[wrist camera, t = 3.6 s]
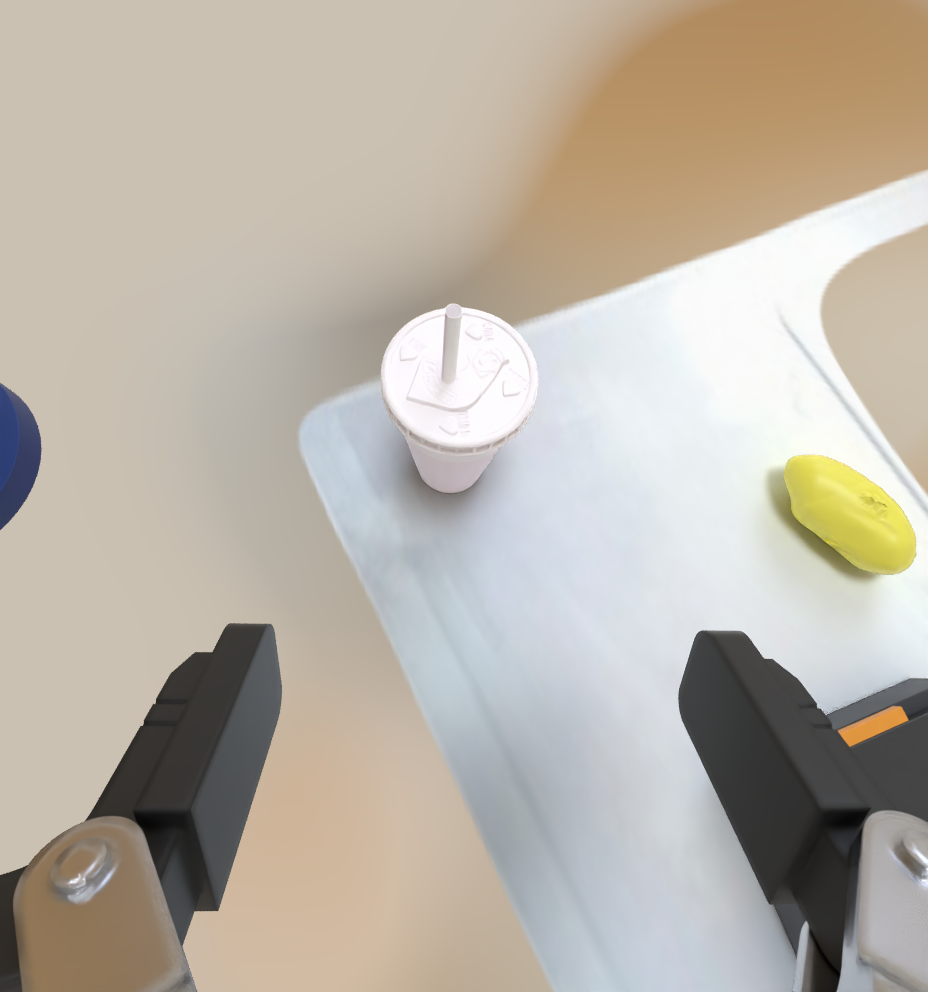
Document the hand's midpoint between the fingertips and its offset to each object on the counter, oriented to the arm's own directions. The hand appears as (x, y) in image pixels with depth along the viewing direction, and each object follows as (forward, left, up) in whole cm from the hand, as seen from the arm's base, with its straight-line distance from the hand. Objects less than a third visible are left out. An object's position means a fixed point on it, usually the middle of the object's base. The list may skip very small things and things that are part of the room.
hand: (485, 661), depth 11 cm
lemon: (+23, 0, -18) cm, 29 cm away
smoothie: (+4, +10, -18) cm, 22 cm away
